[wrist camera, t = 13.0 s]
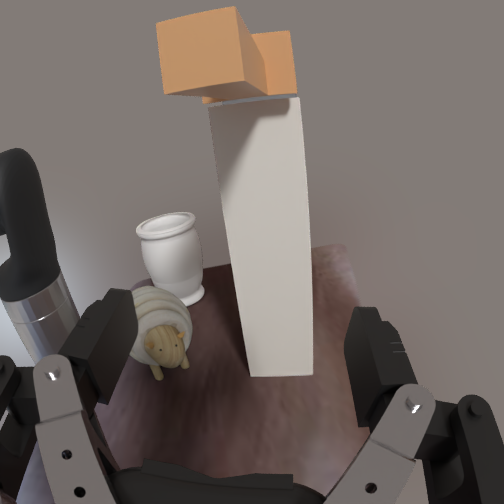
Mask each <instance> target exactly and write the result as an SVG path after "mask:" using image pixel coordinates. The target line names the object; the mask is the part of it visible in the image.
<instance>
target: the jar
mask: <svg viewBox="0 0 504 504" xmlns="http://www.w3.org/2000/svg"><path fill="white" fill-rule="evenodd" d="M195 222H196V218H195V216H194V215H193V214H192V213H186V212H177V213H169V214H165V215H161V216H158V217H154V218H152V219H149V220H147V221H145V222H143V223H142V224H140V225H139V226H138V227H137V228H136V232H137V235H138V237H140V238H141V247H142V255H143V259H144V263H145V266H146V268H147V271H148V273H149V275H150V277H151V279H152V281H153V284H154V286H155V287H157V288H161V289H164V290H167V291H169V292H171V293H172V294H174V295H175V296H176V297H177V298H179V299H180V300H181V301H182V302H183V303H184V304H185V306H189V305H192V304H194V303H196V302H197V301H199V300H200V299H201V298H202V296H203V295H204V288H203V286H202V285H201V282H202V278H203V266H202V263H203V262H202V261H203V260H202V249H201V244H200V240H199V237H198V234H197V231H196V229H195V228H194V224H195Z"/></svg>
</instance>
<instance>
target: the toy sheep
mask: <svg viewBox="0 0 504 504" xmlns="http://www.w3.org/2000/svg"><path fill="white" fill-rule="evenodd" d="M132 295H133V300H134V305H135V310H136V314H137V319H138V335H137V338H136V341H135V343H134V345H133V347H132V350H131V352H130V354H129V355H130V356H131V357H133V358H134V359H135V360H137V361H139V362H141V363H144V364H149V365H150V368H151V370H152V372H153V375H154V377H155V379H156V380H159V381H160V380H162V379H163V377H164V375H163V373H162V370H161V368H160V366H159V365H161V366H163V367H166V368H176V367H178V366H179V365H180V366H181V368H183V369H187V368H189V366H190V364H189V361H188V358H187V355H186V350H187V349H188V347H189V344H190V342H191V336H192V322H191V318H190V314H189V311H188V309H187V307H186V306H185V304H184V303H183V302H182V301H181V300H180V299H179V298H177V297H176V296H175V295H174V294H172V293H171V292H169V291H167V290H164V289H161V288H157V287H154V286H144V287H140V288H137V289H135V290H134V291H132Z"/></svg>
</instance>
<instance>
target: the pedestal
mask: <svg viewBox="0 0 504 504" xmlns="http://www.w3.org/2000/svg"><path fill="white" fill-rule="evenodd" d="M222 102H223V105H221V106H214V107H209V108H208V111H209V118H210V125H211V132H212V139H213V146H214V153H215V160H216V167H217V174H218V181H219V188H220V194H221V201H222V208H223V214H224V221H225V226H226V233H227V240H228V246H229V252H230V259H231V265H232V271H233V277H234V283H235V289H236V295H237V301H238V307H239V313H240V319H241V325H242V331H243V336H244V342H245V348H246V353H247V359H248V365H249V370H250V376H299V375H313V307H312V269H311V245H310V225H309V206H308V193H307V192H308V191H307V178H306V177H307V176H306V164H305V151H304V140H303V129H302V119H301V109H300V99H299V97H297V96H296V94H283V95H272V96H261V97H252V98H244V99H236V100H228V101H222Z"/></svg>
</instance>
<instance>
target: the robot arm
mask: <svg viewBox="0 0 504 504" xmlns="http://www.w3.org/2000/svg"><path fill="white" fill-rule="evenodd" d="M4 234H6V235H7V239H8V243H9V247H10V253H11V256H10V258H9V259H8V260H6V261H5V262H4V263H3V264H2V265H1V266H0V298H1V300H2V302H3V305H4V307H5V309H6V311H7V313H8V315H9V317H10V319H11V321H12V323H13V325H14V327H15V329H16V331H17V332H18V334H19V336H20V338H21V340H22V342H23V344H24V345H25V347H26V349H27V350H28V352H29V354H30V356H31V357H32V359H33V361H34V362H35V364H36V366H35V367H16V365H15V363H14V362H13V360H12V359H11V358H10V357H8V356H4V355H1V356H0V421H1V418H2V416H3V414H4V412H5V410H7V411H8V412H9V413H8V415H7V417H6V420H5V422H4V424H3V426H2V428H1V430H0V504H17V503H16V499H17V495H18V492H19V489H20V486H21V483H22V480H23V477H24V474H25V471H26V468H27V466H28V463H29V460H30V457H31V455H32V452H33V449H34V447H35V444H36V441H37V439H38V444H39V448H40V452H41V456H42V460H43V464H44V468H45V472H46V475H47V479H48V482H49V485H50V489H51V492H52V495H53V498H54V501H55V504H395V502H396V500H397V498H398V497H399V495H400V493H401V491H402V489H403V488H404V486H405V484H406V482H407V480H408V478H409V476H410V474H411V472H412V470H413V468H414V466H415V463H416V460H414V459H421V460H422V463H423V469H424V475H425V481H426V487H427V494H428V501H429V504H504V444H503V441H502V438H501V435H500V432H499V429H498V426H497V424H496V421H495V418H494V415H493V413H492V410H491V408H490V406H489V404H488V403H487V402H486V401H485V400H484V399H483V398H481V397H479V396H477V395H466V396H464V397H463V398H462V399H461V400H460V401H459V403H458V404H454V403H448V402H442V401H437V400H435V399H434V397H433V395H432V394H431V393H430V391H429V390H428V389H426V388H425V387H423V386H421V385H418V383H417V380H416V377H415V375H414V372H413V369H412V367H411V364H410V362H409V359H408V356H407V354H406V353H405V349H404V346H403V344H402V341H401V339H400V336H399V334H398V331H397V330H396V329H395V328H394V327H393V326H392V325H391V324H390V323H389V322H388V321H381V318H380V315H379V313H378V310H377V308H376V307H355V308H354V310H353V313H352V316H351V320H350V323H349V327H348V330H347V333H346V337H345V341H344V355H345V360H346V365H347V370H348V374H349V379H350V384H351V389H352V395H353V400H354V405H355V411H356V416H357V422H358V427H369V429H370V435H369V436H368V438H367V440H366V441H365V443H364V444H363V446H362V447H361V449H360V450H359V452H358V453H357V455H356V456H355V458H354V459H353V461H352V462H351V463H350V465H349V466H348V468H347V469H346V470H345V472H344V473H343V475H342V476H341V477H340V479H339V480H338V481H337V483H336V484H335V485H334V486H333V488H332V489H331V490H330V492H329V493H328V494H327V495H326V497H325V496H323V495H322V494H320V493H319V492H317V491H315V490H313V489H311V488H309V487H307V486H304V485H301V484H297V483H293V474H259V473H255V474H248V475H242V476H235V477H227V478H212V477H209V476H206V475H204V474H201V473H198V472H195V471H193V470H190V469H188V468H185V467H183V466H180V465H176V464H170V463H165V462H159V461H154V460H149V459H145V458H144V462H143V465H142V467H132V468H127V469H122V470H120V468H119V466H118V464H117V462H116V461H115V459H114V457H113V455H112V453H111V451H110V449H109V446H108V444H107V441H106V439H105V436H104V434H103V431H102V429H101V426H100V423H99V421H98V418H97V415H96V412H95V410H94V408H95V406H96V404H97V402H98V403H102V404H106V405H108V403H109V401H110V399H111V396H112V394H113V391H114V389H115V387H116V384H117V382H118V379H119V377H120V375H121V372H122V370H123V368H124V365H125V363H126V361H127V359H128V356H129V354H130V352H131V350H132V347H133V345H134V343H135V341H136V338H137V335H138V319H137V314H136V310H135V305H134V300H133V295H132V292H131V291H130V290H123V289H114V288H111V289H110V290H109V291H108V292H107V294H106V295H105V296H104V298H103V300H102V301H101V300H97V301H96V302H94V303H93V304H92V305H90V306H89V307H88V308H87V309H86V310H85V312H84V313H83V315H82V316H81V318H80V316H79V314H78V311H77V309H76V307H75V304H74V302H73V300H72V297H71V295H70V292H69V290H68V287H67V285H66V282H65V279H64V277H63V274H62V272H61V269H60V266H59V263H58V260H57V254H56V246H55V240H54V236H53V232H52V229H51V225H50V221H49V217H48V212H47V208H46V203H45V198H44V193H43V188H42V184H41V180H40V176H39V172H38V170H37V167H36V165H35V162H34V161H33V159H32V157H31V156H30V155H29V154H28V153H27V152H26V151H25V150H23V149H20V148H14V149H10V150H7V151H4V152H2V153H0V236H1V235H4Z"/></svg>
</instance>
